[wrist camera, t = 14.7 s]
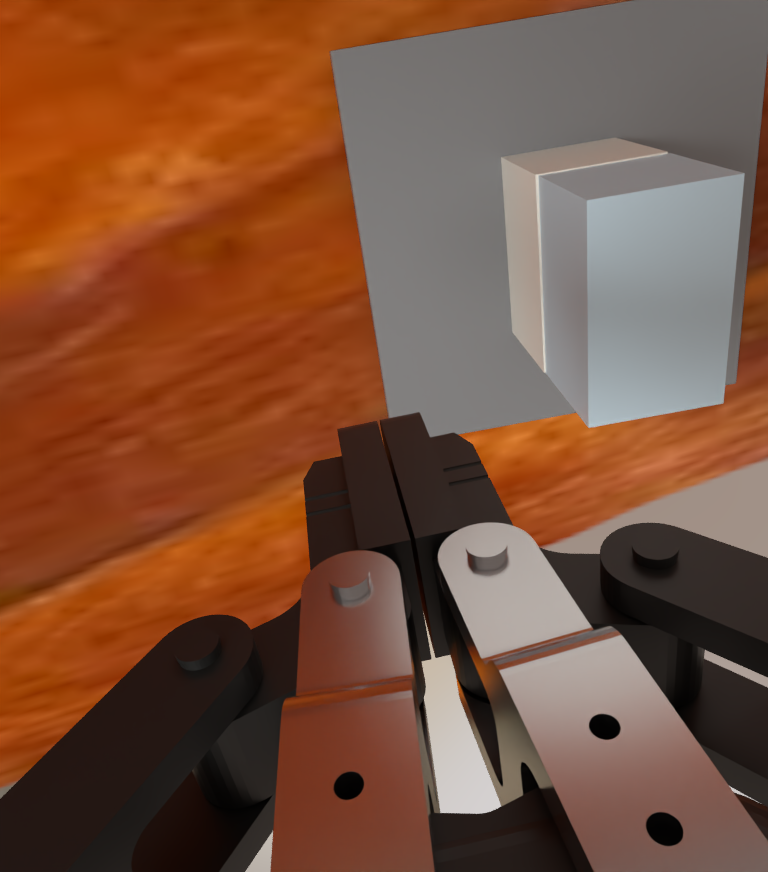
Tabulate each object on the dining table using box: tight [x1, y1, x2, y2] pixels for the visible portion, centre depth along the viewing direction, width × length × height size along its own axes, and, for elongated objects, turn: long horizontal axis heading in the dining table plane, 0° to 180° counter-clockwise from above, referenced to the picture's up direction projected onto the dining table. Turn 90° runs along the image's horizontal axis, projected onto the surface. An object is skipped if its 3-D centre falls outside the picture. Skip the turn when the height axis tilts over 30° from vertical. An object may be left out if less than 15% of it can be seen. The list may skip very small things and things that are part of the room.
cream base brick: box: [501, 138, 668, 373], centre depth 31 cm, size 8×5×5 cm, turn 8°
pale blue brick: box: [538, 153, 745, 428], centre depth 26 cm, size 8×5×5 cm, turn 8°
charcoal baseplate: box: [329, 0, 768, 437], centre depth 33 cm, size 18×18×1 cm
